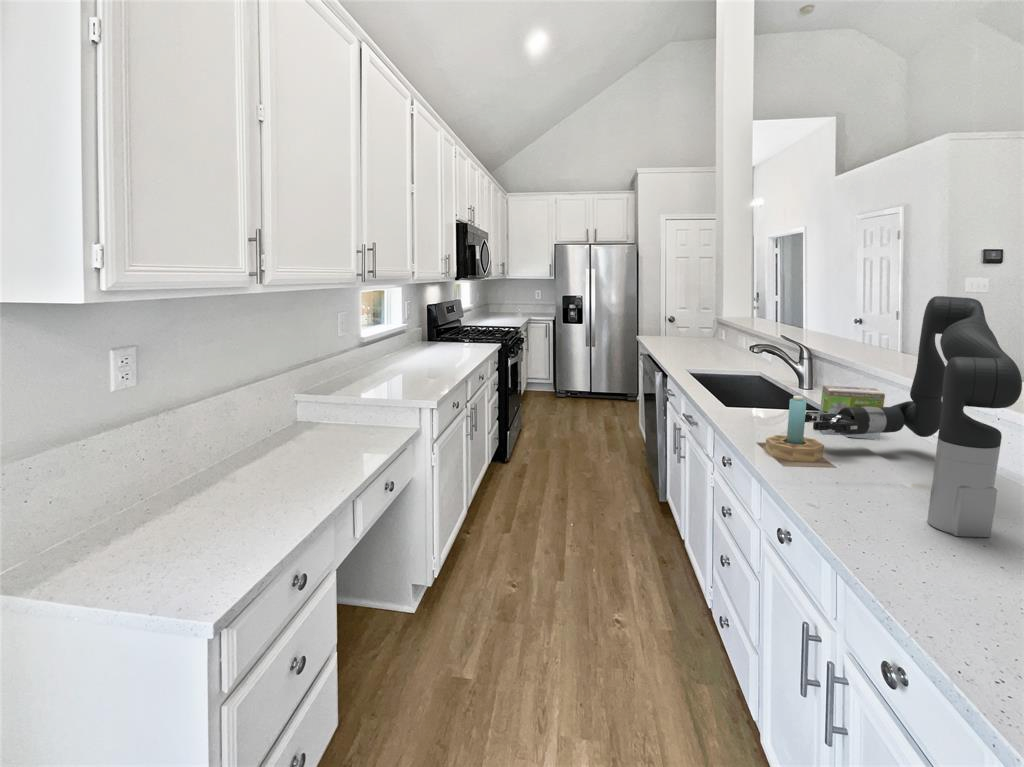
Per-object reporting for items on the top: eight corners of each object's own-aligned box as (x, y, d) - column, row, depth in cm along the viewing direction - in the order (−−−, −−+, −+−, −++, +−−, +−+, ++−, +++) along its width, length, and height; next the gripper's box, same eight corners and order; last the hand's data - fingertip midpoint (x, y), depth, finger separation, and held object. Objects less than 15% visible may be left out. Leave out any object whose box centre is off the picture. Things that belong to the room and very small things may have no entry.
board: (836, 472, 141) (837, 467, 140) (783, 470, 142) (783, 466, 142) (801, 447, 162) (802, 443, 162) (755, 446, 164) (755, 442, 163)
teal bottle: (804, 456, 150) (809, 398, 147) (788, 456, 150) (793, 397, 147) (798, 452, 154) (803, 395, 151) (783, 451, 154) (787, 395, 151)
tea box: (825, 437, 173) (829, 390, 171) (817, 429, 183) (821, 384, 180) (880, 440, 169) (885, 392, 166) (870, 432, 178) (874, 386, 176)
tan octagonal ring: (829, 462, 145) (830, 449, 144) (777, 460, 146) (778, 448, 146) (808, 447, 158) (809, 435, 157) (760, 446, 159) (761, 434, 158)
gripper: (845, 401, 158) (790, 403, 157) (881, 412, 144) (821, 414, 143) (843, 427, 159) (788, 428, 158) (878, 440, 145) (819, 442, 144)
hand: (804, 422), depth 151 cm, fingers open, 8 cm apart
